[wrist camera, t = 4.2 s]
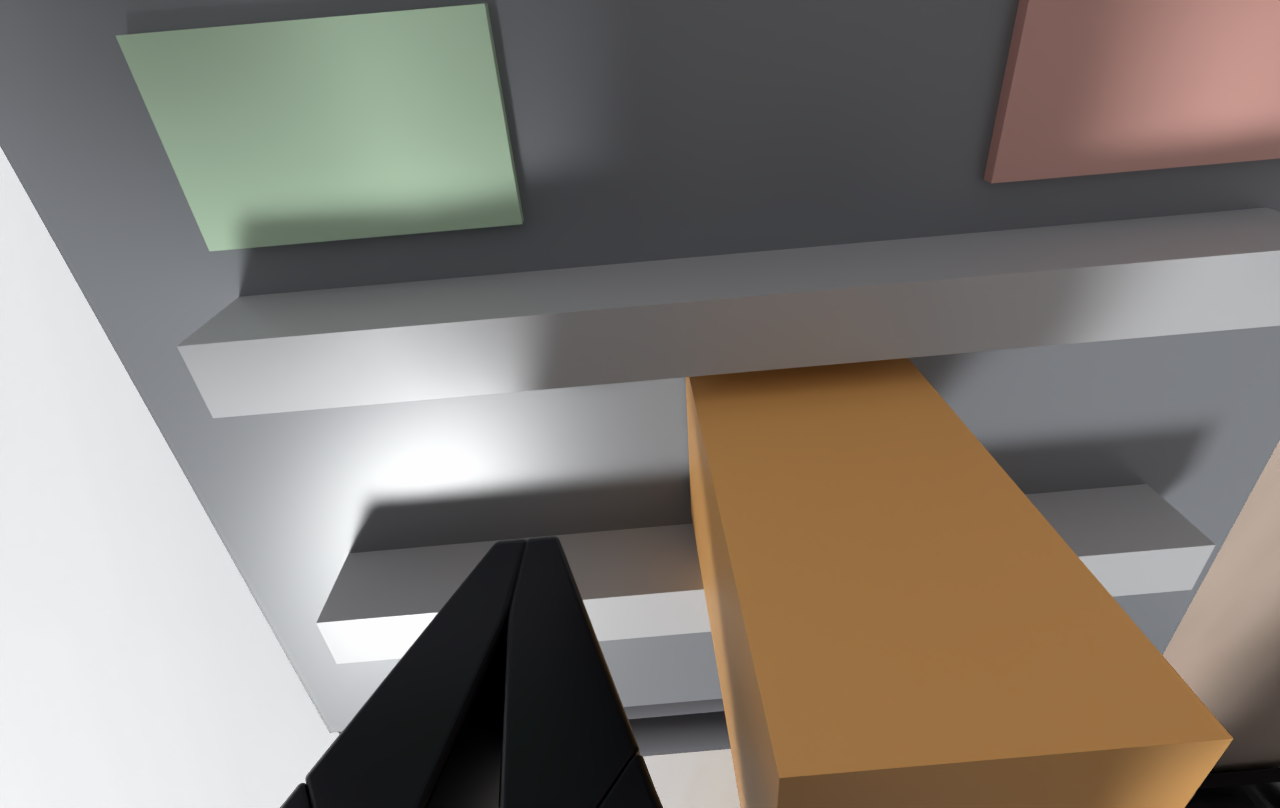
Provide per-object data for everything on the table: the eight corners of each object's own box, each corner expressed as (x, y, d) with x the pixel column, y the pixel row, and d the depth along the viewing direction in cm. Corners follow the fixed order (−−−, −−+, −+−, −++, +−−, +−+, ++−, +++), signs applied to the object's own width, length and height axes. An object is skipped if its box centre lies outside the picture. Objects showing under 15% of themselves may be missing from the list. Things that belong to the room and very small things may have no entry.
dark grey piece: (1121, 601, 16) (1163, 649, 15) (1086, 677, 18) (1121, 726, 16) (337, 669, 16) (316, 722, 15) (372, 739, 18) (355, 792, 16)
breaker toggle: (891, 338, 9) (1233, 738, 4) (868, 498, 11) (1097, 929, 6) (684, 356, 9) (779, 777, 4) (691, 513, 11) (766, 959, 6)
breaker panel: (1425, -169, 8) (1881, -264, 5) (1099, 589, 16) (1214, 726, 13) (31, -47, 8) (-287, -75, 5) (359, 654, 16) (302, 805, 13)
